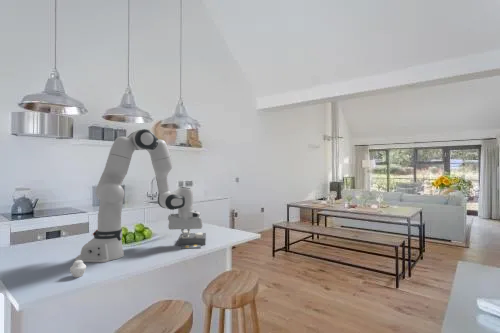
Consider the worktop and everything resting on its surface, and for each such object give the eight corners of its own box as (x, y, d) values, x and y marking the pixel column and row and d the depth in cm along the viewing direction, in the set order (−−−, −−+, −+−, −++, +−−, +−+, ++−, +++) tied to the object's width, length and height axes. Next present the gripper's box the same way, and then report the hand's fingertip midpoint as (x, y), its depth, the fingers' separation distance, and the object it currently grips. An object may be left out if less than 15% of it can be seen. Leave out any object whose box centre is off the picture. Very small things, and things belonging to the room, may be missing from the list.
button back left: (182, 237, 181) (182, 232, 181) (183, 235, 185) (183, 230, 185) (189, 236, 181) (189, 232, 181) (190, 235, 185) (190, 230, 185)
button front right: (195, 239, 175) (195, 234, 175) (195, 237, 179) (195, 233, 179) (202, 239, 175) (202, 234, 175) (202, 237, 179) (202, 232, 179)
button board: (178, 245, 172) (178, 239, 172) (180, 239, 186) (180, 233, 186) (205, 245, 174) (205, 238, 174) (205, 239, 188) (205, 232, 188)
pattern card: (181, 248, 166) (181, 247, 166) (182, 246, 171) (182, 244, 171) (200, 248, 167) (200, 246, 167) (200, 245, 172) (200, 244, 172)
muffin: (83, 272, 129) (83, 256, 129) (88, 275, 125) (88, 259, 125) (67, 276, 125) (67, 260, 125) (72, 280, 120) (72, 263, 120)
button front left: (181, 242, 174) (181, 237, 174) (182, 240, 178) (182, 235, 178) (188, 242, 174) (188, 237, 174) (189, 240, 178) (189, 235, 178)
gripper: (167, 214, 172) (167, 238, 172) (202, 214, 174) (202, 237, 174) (168, 213, 178) (168, 235, 178) (202, 212, 180) (202, 234, 180)
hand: (185, 236), depth 176 cm, fingers closed, pressing on button front left
